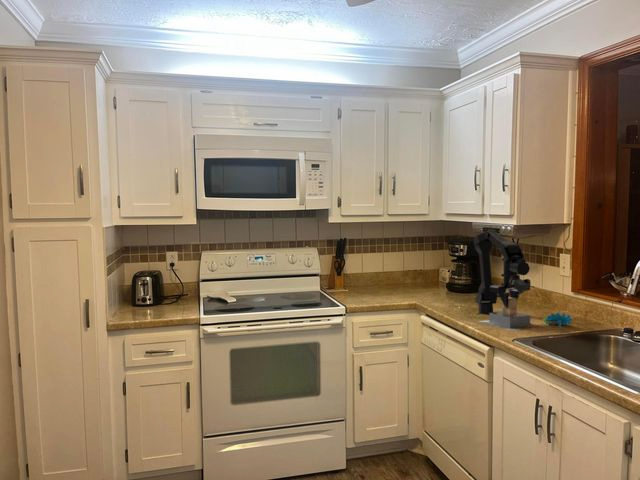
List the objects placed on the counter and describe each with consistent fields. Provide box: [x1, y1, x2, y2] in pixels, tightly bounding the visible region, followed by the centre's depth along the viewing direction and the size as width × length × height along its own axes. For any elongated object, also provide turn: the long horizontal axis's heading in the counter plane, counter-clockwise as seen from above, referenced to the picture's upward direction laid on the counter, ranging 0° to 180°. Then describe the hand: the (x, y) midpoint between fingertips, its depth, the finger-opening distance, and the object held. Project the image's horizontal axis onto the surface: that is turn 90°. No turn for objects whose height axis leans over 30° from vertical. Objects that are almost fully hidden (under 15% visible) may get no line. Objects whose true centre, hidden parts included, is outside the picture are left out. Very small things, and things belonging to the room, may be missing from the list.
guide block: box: [488, 310, 531, 329], centre depth 213 cm, size 12×12×5 cm
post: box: [502, 296, 518, 316], centre depth 213 cm, size 4×4×10 cm
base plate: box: [478, 319, 540, 332], centre depth 213 cm, size 20×18×1 cm
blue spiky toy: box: [543, 312, 573, 328], centre depth 209 cm, size 11×6×10 cm
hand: (509, 306), depth 213 cm, fingers closed on post, 4 cm apart
